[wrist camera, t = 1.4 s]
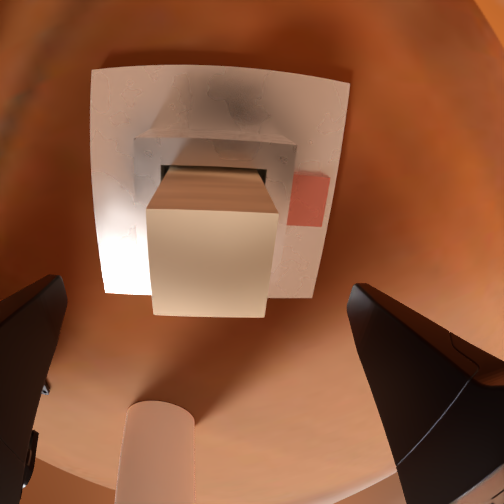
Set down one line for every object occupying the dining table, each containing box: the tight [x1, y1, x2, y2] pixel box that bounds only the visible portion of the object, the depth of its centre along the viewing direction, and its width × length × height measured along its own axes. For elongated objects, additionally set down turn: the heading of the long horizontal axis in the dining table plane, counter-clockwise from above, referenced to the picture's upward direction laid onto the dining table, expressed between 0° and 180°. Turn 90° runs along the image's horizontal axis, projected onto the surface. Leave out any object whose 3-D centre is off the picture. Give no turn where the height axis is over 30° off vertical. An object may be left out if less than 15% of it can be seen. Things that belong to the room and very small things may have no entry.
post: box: [146, 165, 279, 318], centre depth 14 cm, size 4×4×8 cm
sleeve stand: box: [90, 65, 350, 298], centre depth 16 cm, size 14×14×4 cm
